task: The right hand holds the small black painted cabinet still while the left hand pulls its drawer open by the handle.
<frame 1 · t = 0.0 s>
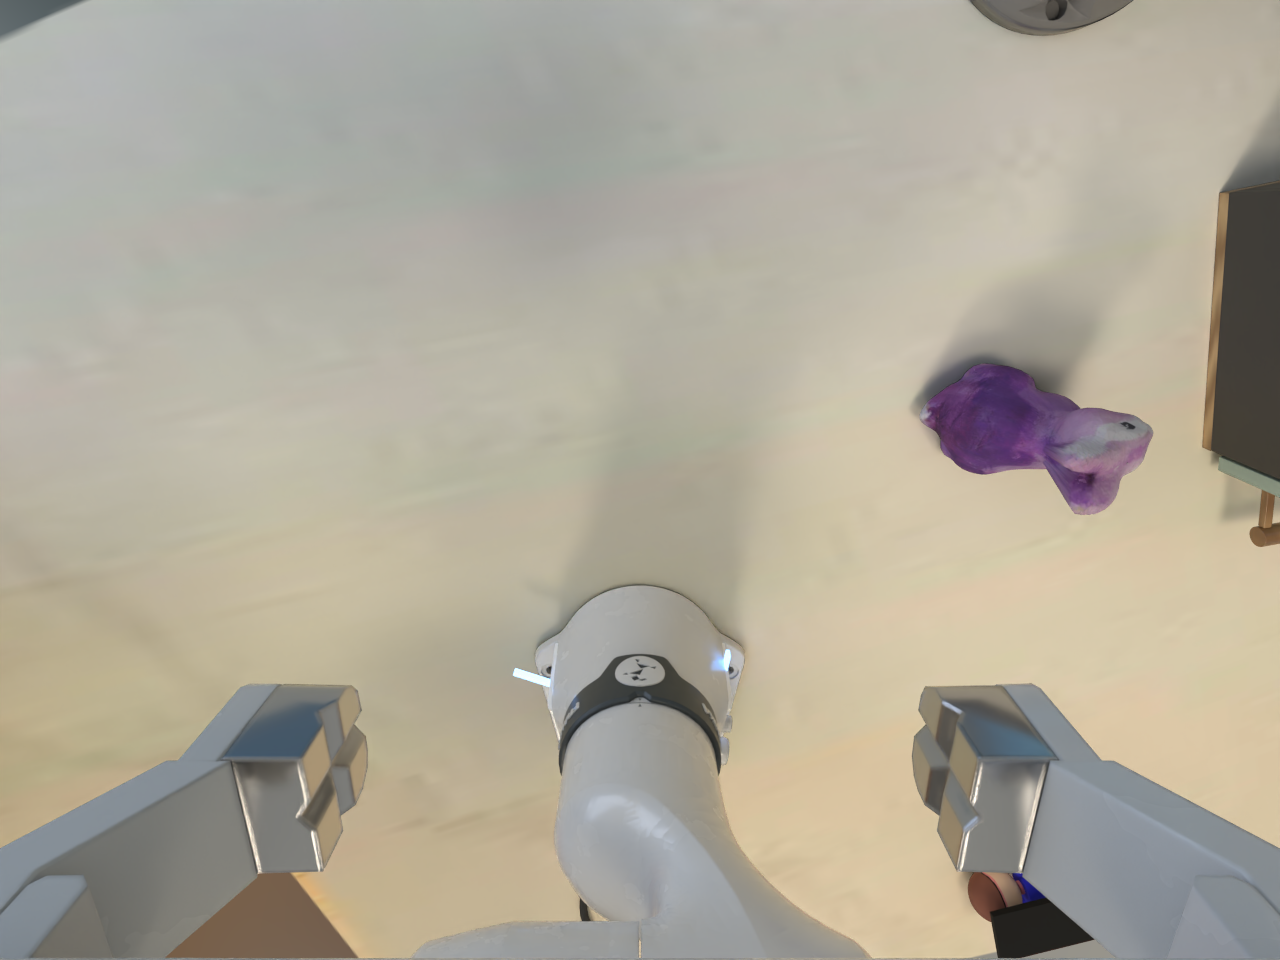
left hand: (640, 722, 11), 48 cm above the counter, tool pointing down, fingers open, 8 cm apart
figurine: (990, 407, 58), on the counter
black wheeled block: (1033, 860, 75), on the counter
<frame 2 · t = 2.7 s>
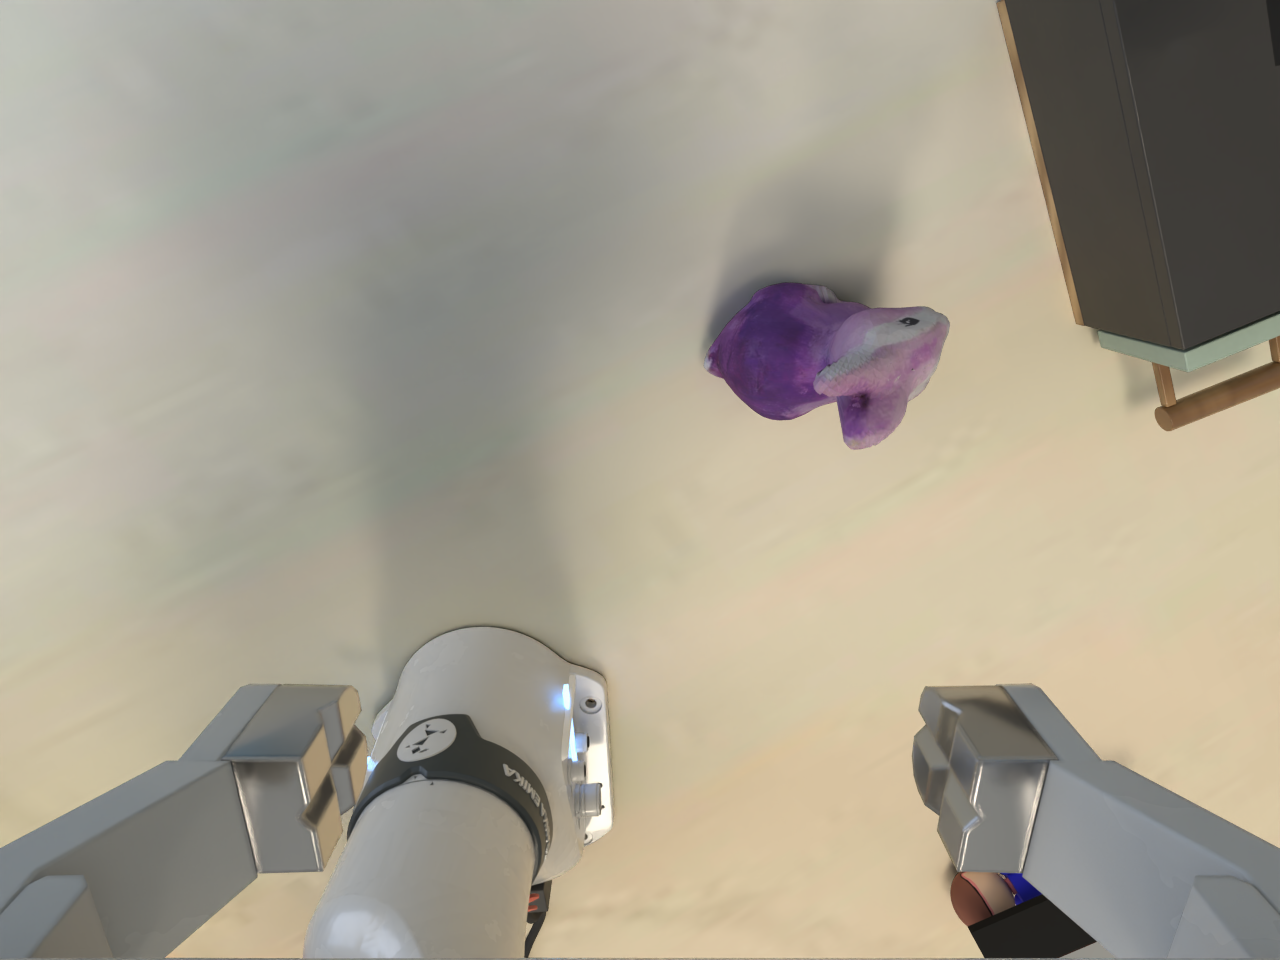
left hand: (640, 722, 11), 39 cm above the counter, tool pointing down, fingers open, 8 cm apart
cabinet: (1123, 136, 44), on the counter
drawer: (1199, 218, 41), point 5 cm above the counter, slide at 0.6 cm
figurine: (796, 335, 48), on the counter
black wheeled block: (1025, 849, 63), on the counter
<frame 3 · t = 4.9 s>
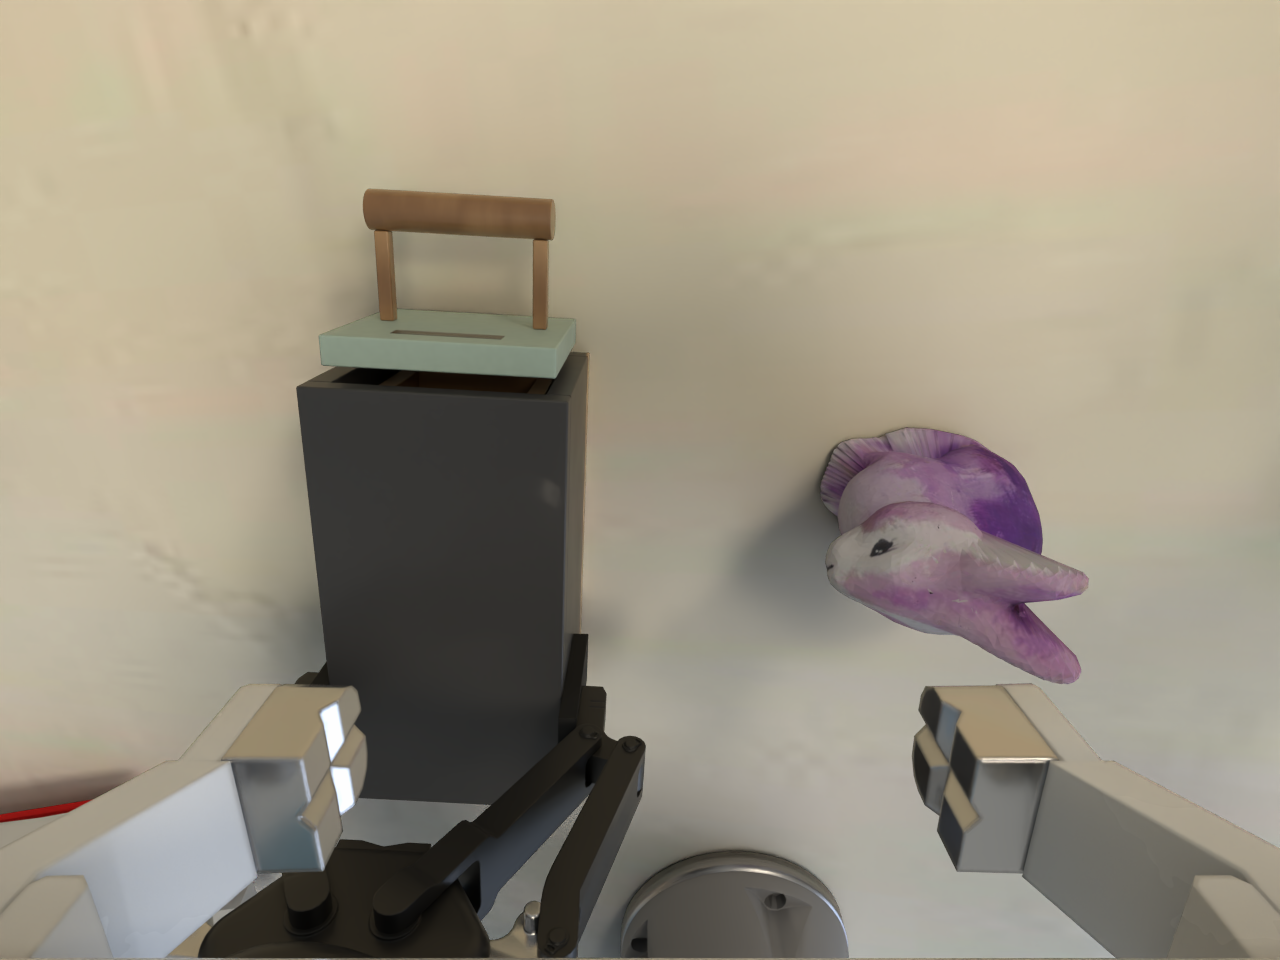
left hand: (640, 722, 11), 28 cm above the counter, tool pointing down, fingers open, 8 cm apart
right hand: (472, 650, 37), fingers closed on cabinet, 10 cm apart
cabinet: (490, 525, 40), on the counter, touching right hand
drawer: (466, 468, 34), point 5 cm above the counter, slide at 0.6 cm
toy: (52, 836, 48), on the counter
figurine: (897, 496, 39), on the counter
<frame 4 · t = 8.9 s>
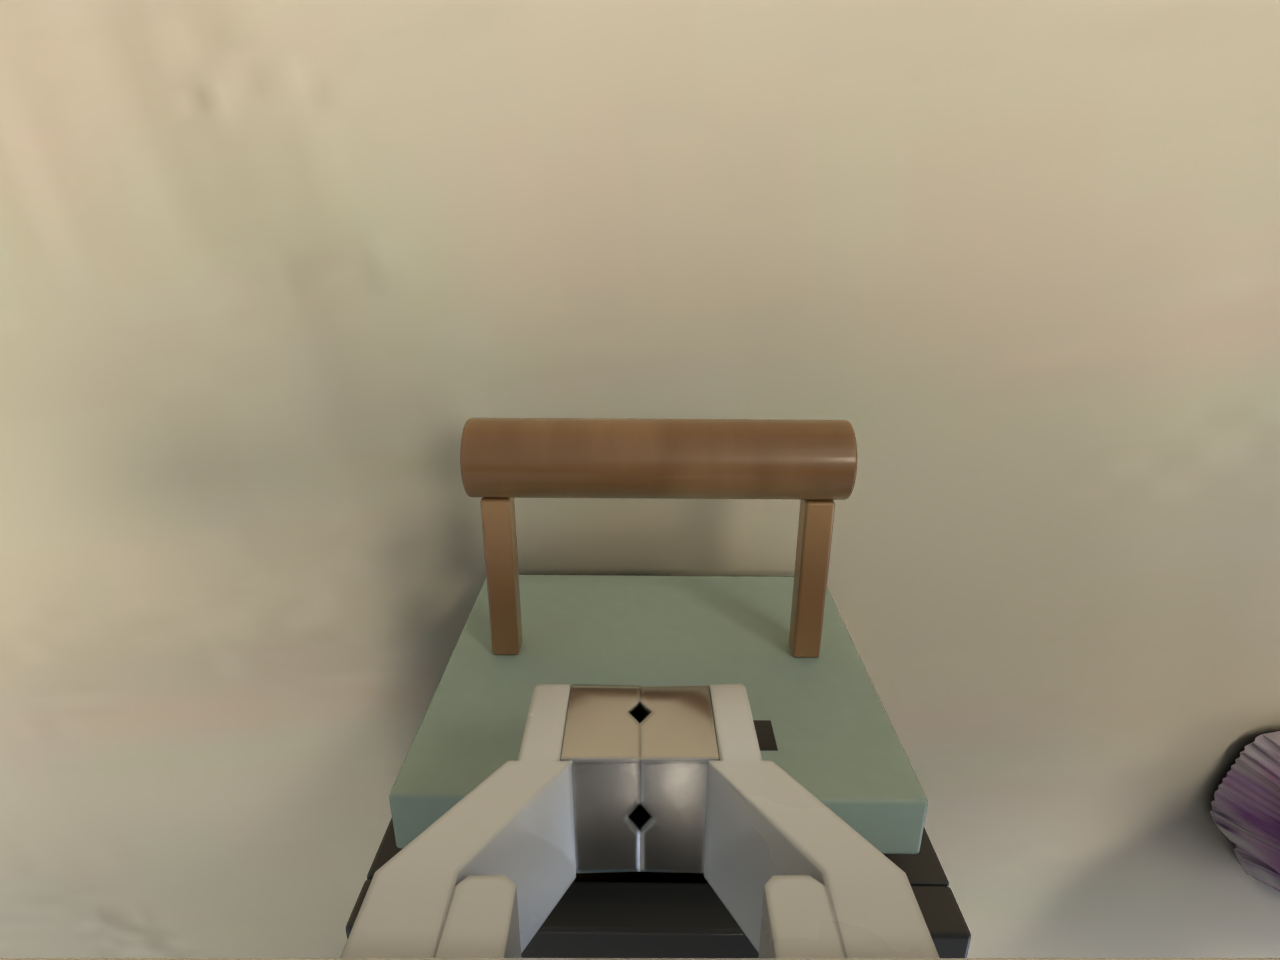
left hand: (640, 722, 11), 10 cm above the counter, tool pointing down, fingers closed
cabinet: (650, 868, 25), on the counter, touching right hand
drawer: (652, 884, 18), point 5 cm above the counter, slide at 0.6 cm
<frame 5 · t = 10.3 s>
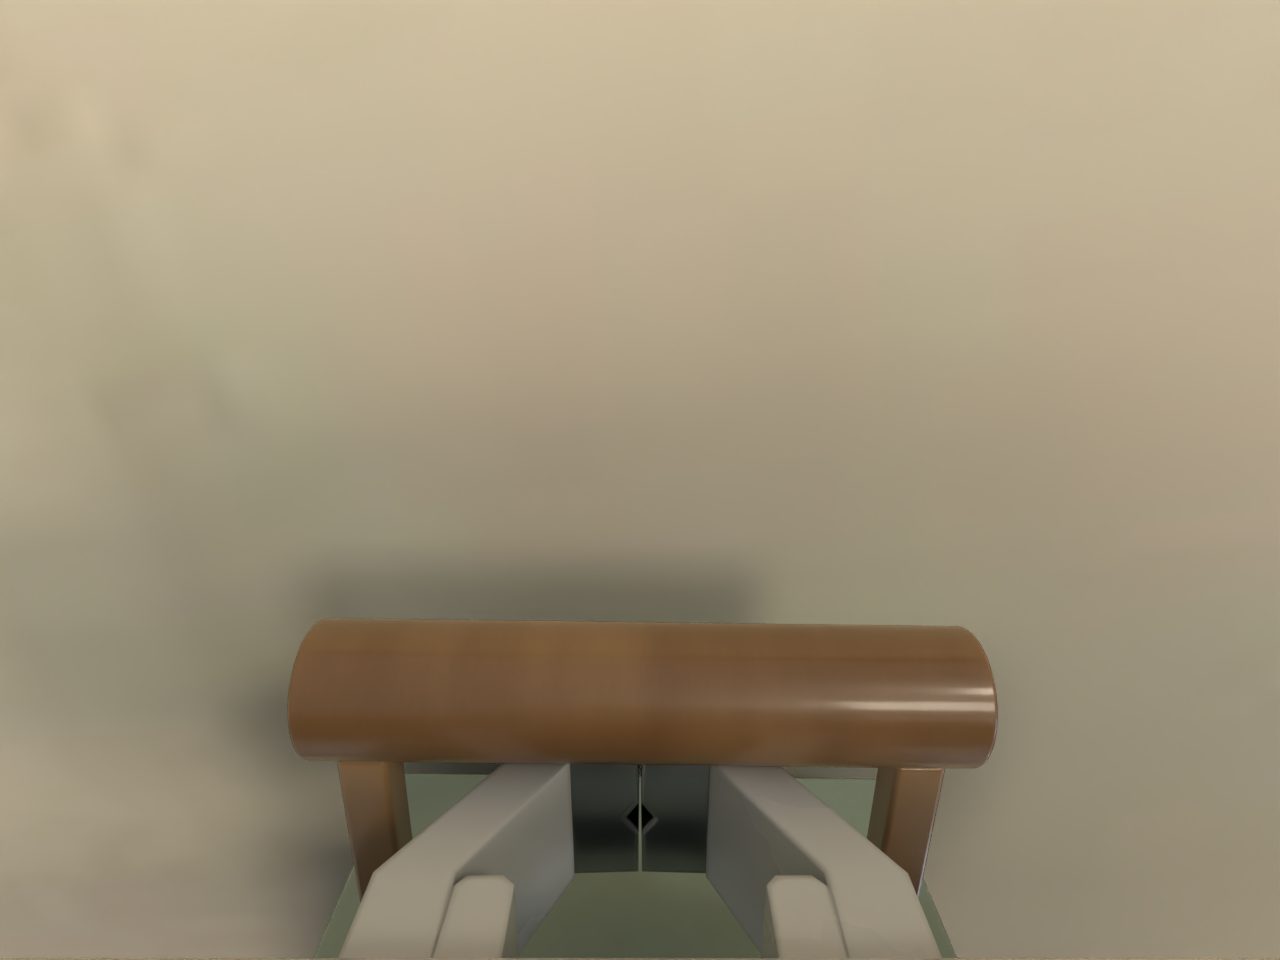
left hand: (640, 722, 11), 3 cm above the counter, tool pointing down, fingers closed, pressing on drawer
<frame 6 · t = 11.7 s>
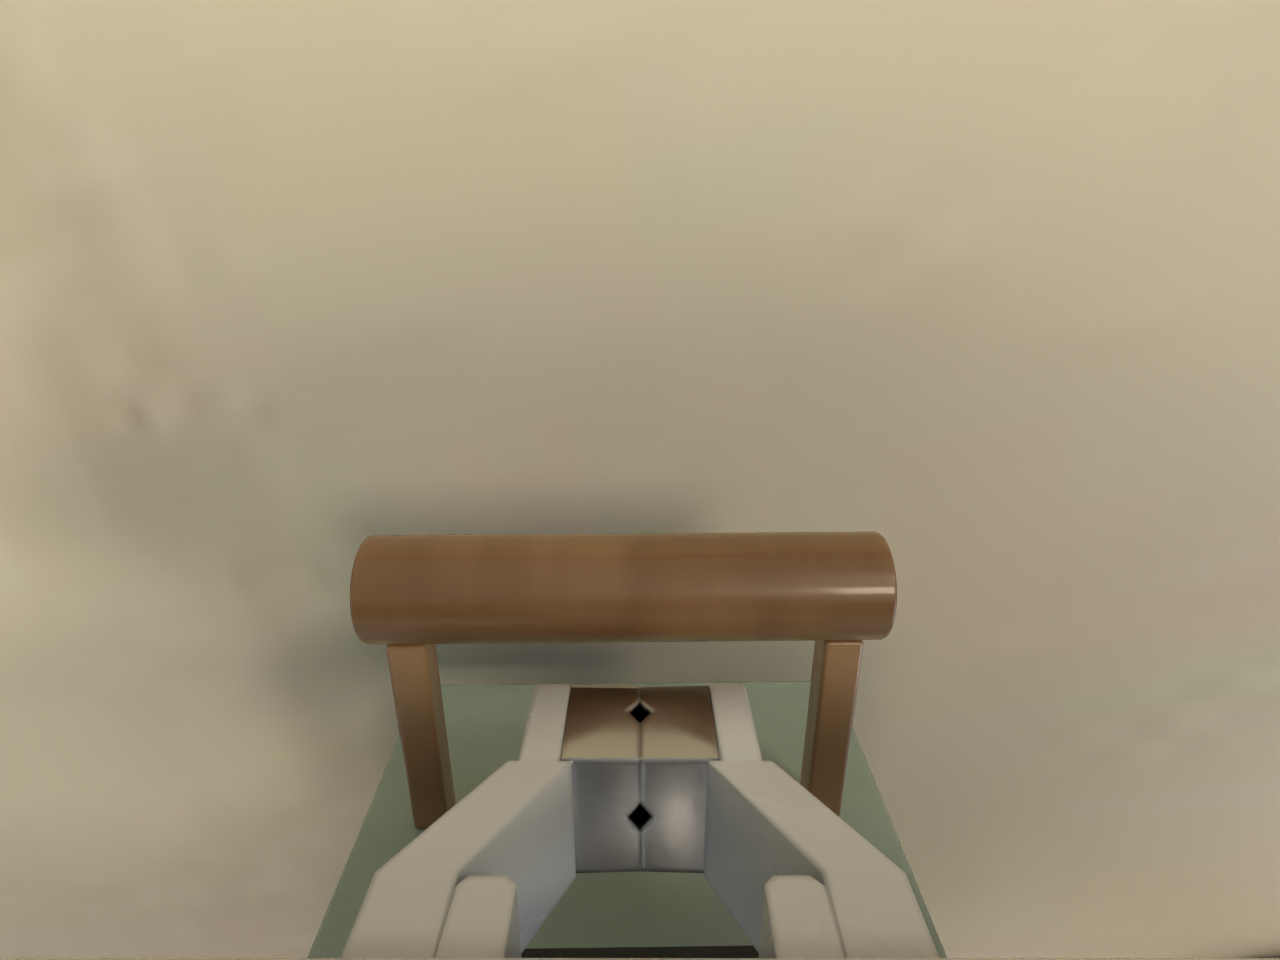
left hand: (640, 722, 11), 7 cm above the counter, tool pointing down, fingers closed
when the right hand's fingers open (5 cm above the counter, at t = 13.1 s): cabinet stays where it is, on the counter.
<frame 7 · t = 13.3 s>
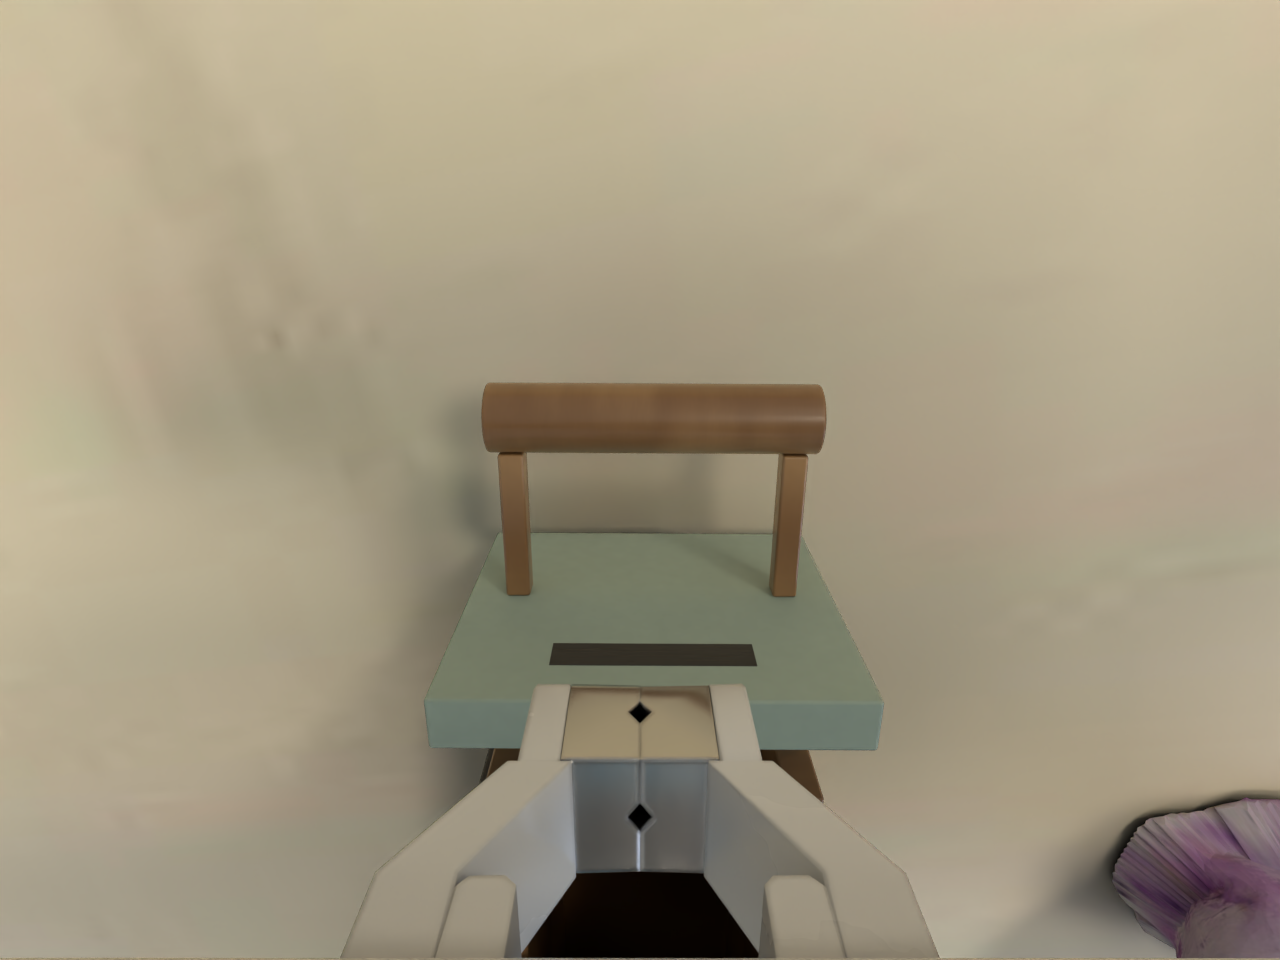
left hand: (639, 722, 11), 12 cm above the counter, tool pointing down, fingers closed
drawer: (648, 806, 20), point 5 cm above the counter, slide at 6.1 cm
figurine: (1218, 873, 28), on the counter
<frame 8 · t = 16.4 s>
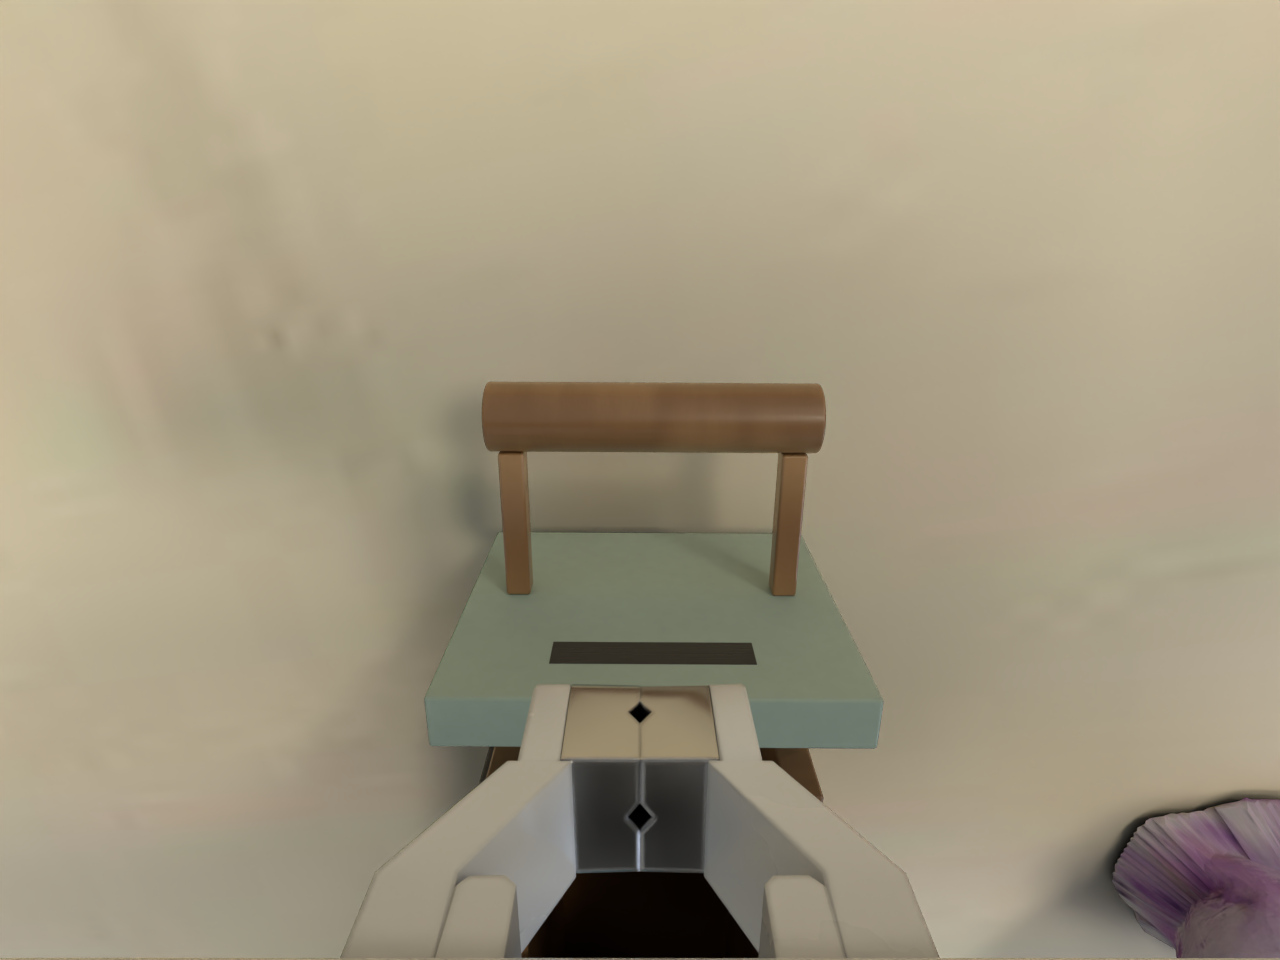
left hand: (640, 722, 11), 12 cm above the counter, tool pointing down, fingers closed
drawer: (648, 806, 20), point 5 cm above the counter, slide at 6.1 cm
figurine: (1218, 873, 28), on the counter
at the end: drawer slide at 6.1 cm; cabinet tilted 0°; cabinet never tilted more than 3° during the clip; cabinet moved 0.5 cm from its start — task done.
